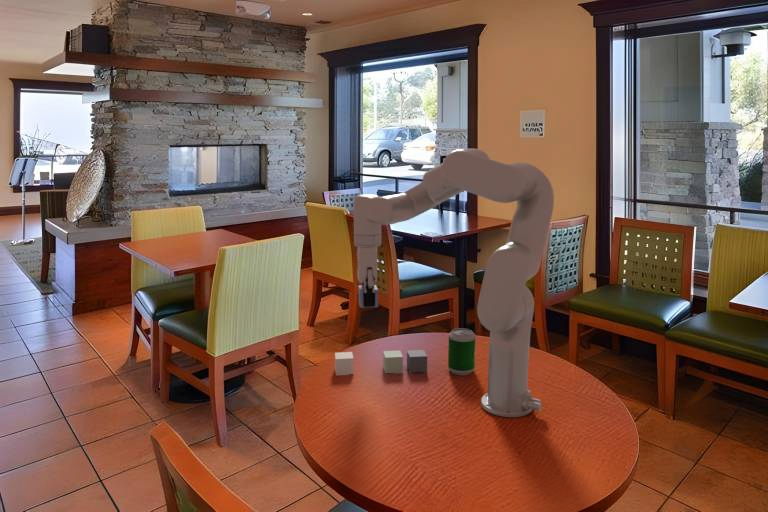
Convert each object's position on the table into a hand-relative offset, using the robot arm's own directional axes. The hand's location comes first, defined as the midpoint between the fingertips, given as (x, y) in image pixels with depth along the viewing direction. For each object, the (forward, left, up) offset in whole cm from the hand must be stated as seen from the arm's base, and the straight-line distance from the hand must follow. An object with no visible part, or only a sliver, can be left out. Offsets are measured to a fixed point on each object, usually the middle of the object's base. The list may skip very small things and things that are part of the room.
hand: (368, 302), depth 159 cm
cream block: (+5, +5, -21) cm, 22 cm away
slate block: (0, 0, -1) cm, 1 cm away
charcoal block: (-10, -9, -21) cm, 25 cm away
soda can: (-21, -16, -21) cm, 34 cm away
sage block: (-5, -5, -21) cm, 22 cm away
